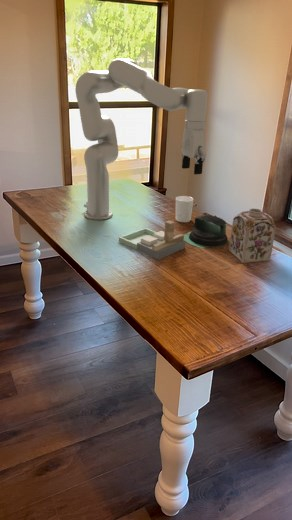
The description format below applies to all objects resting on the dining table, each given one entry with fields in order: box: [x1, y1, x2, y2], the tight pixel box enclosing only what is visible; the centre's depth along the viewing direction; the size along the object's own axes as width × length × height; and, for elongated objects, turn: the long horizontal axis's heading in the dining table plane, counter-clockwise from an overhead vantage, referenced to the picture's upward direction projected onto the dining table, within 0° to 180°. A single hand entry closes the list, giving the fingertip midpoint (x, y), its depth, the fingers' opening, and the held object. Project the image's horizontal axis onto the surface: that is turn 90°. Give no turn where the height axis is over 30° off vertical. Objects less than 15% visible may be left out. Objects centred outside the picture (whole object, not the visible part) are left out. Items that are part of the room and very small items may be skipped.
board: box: [136, 239, 186, 260], centre depth 161 cm, size 11×15×3 cm
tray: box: [118, 227, 157, 251], centre depth 167 cm, size 10×15×2 cm, turn 136°
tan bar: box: [152, 220, 185, 251], centre depth 156 cm, size 2×16×9 cm, turn 136°
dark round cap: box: [183, 214, 229, 250], centre depth 170 cm, size 20×20×9 cm
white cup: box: [174, 195, 195, 223], centre depth 189 cm, size 8×8×10 cm
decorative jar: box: [228, 208, 277, 264], centre depth 155 cm, size 12×12×18 cm
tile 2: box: [153, 230, 165, 240], centre depth 164 cm, size 4×4×2 cm
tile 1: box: [141, 235, 158, 245], centre depth 159 cm, size 4×4×2 cm
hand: (191, 171), depth 165 cm, fingers open, 9 cm apart
